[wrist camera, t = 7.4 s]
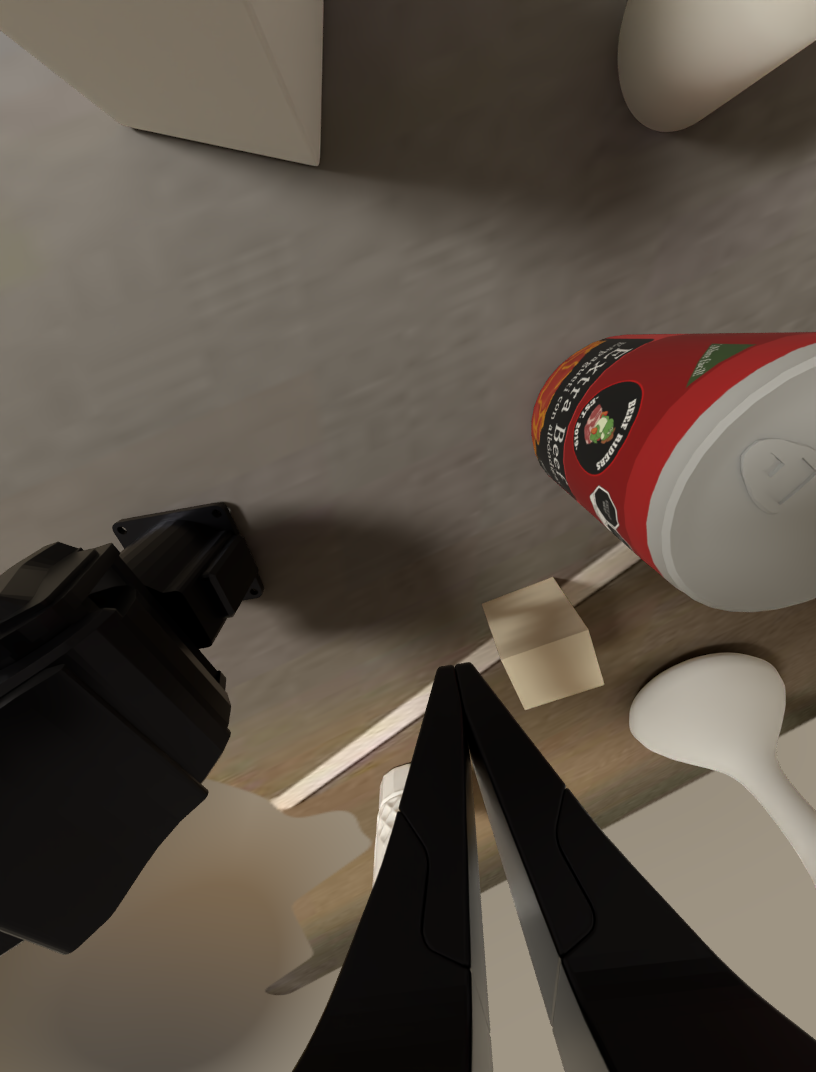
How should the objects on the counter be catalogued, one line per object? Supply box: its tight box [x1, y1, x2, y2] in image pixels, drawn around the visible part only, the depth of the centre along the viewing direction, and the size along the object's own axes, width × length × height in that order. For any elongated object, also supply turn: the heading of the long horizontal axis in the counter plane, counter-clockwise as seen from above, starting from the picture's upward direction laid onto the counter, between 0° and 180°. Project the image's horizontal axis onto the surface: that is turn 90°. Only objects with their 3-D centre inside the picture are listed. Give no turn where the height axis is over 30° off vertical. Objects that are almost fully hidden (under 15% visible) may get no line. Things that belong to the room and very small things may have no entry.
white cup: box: [372, 763, 411, 889], centre depth 31 cm, size 8×8×10 cm
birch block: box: [482, 577, 604, 710], centre depth 23 cm, size 5×5×5 cm
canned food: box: [532, 332, 816, 612], centre depth 14 cm, size 8×8×11 cm
